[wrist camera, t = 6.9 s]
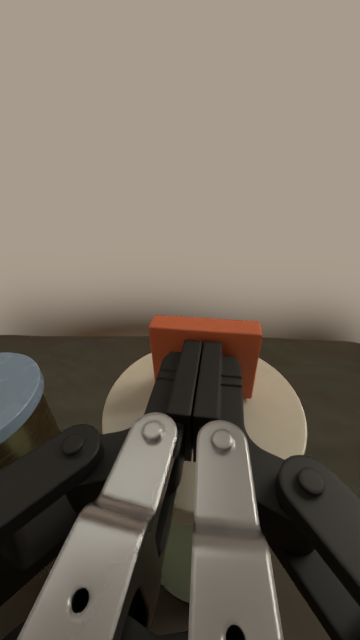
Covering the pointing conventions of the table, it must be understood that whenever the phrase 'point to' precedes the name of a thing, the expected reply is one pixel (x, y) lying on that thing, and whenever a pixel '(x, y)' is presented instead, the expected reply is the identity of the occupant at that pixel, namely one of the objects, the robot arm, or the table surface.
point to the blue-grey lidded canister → (22, 408)
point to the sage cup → (261, 426)
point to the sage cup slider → (233, 334)
